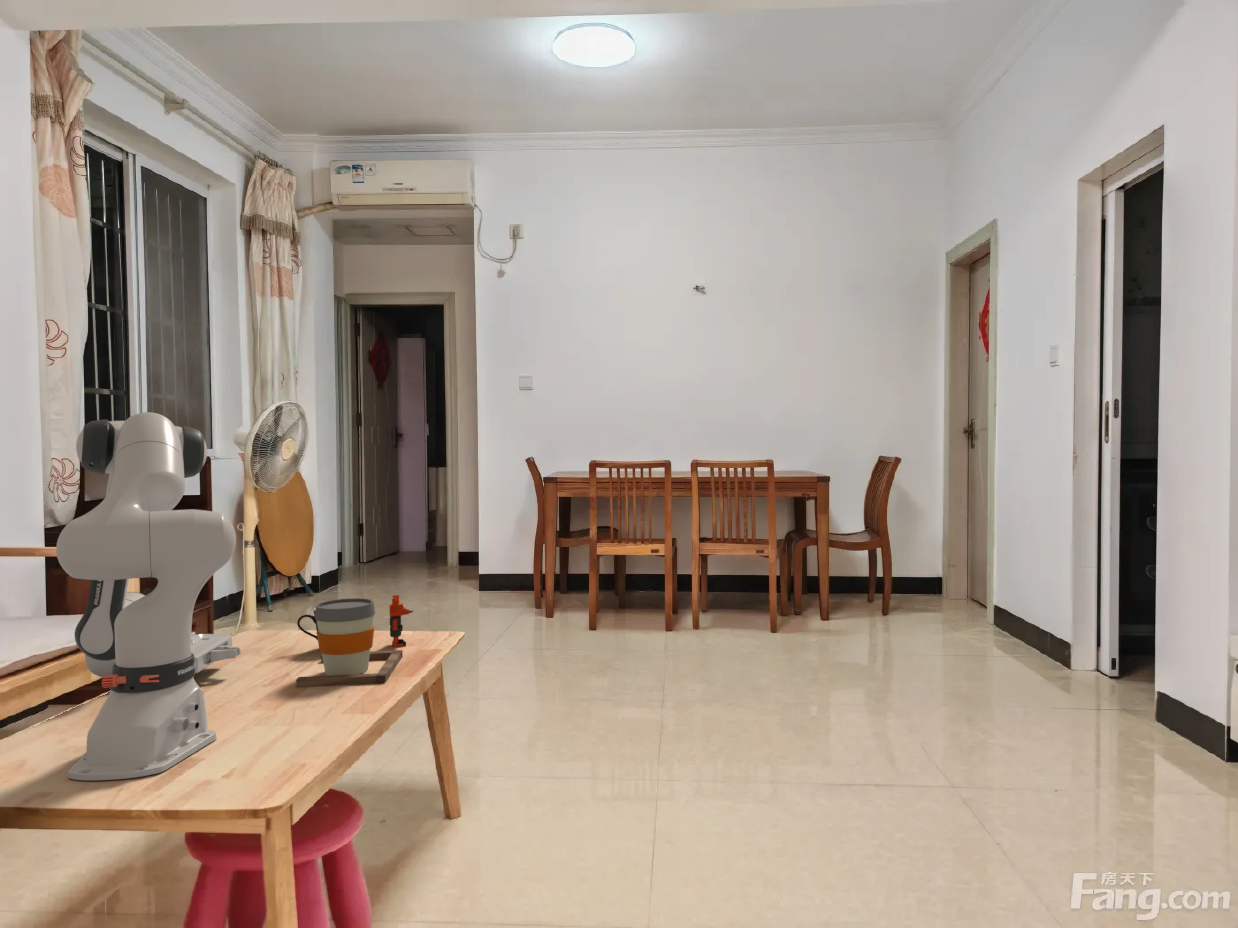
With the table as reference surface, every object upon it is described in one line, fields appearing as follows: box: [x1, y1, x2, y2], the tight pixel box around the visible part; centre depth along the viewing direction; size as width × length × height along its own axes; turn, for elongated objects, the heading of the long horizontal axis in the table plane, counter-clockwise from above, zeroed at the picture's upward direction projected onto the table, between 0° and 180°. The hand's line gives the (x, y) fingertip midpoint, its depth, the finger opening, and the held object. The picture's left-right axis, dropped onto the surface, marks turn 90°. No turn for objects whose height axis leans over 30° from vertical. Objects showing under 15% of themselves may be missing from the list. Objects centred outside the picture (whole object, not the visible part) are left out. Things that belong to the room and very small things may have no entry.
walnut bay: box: [295, 649, 404, 688], centre depth 177 cm, size 21×18×2 cm
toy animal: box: [389, 594, 414, 648], centre depth 200 cm, size 8×6×12 cm
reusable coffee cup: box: [315, 597, 376, 676], centre depth 177 cm, size 13×13×15 cm
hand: (238, 652), depth 175 cm, fingers closed
